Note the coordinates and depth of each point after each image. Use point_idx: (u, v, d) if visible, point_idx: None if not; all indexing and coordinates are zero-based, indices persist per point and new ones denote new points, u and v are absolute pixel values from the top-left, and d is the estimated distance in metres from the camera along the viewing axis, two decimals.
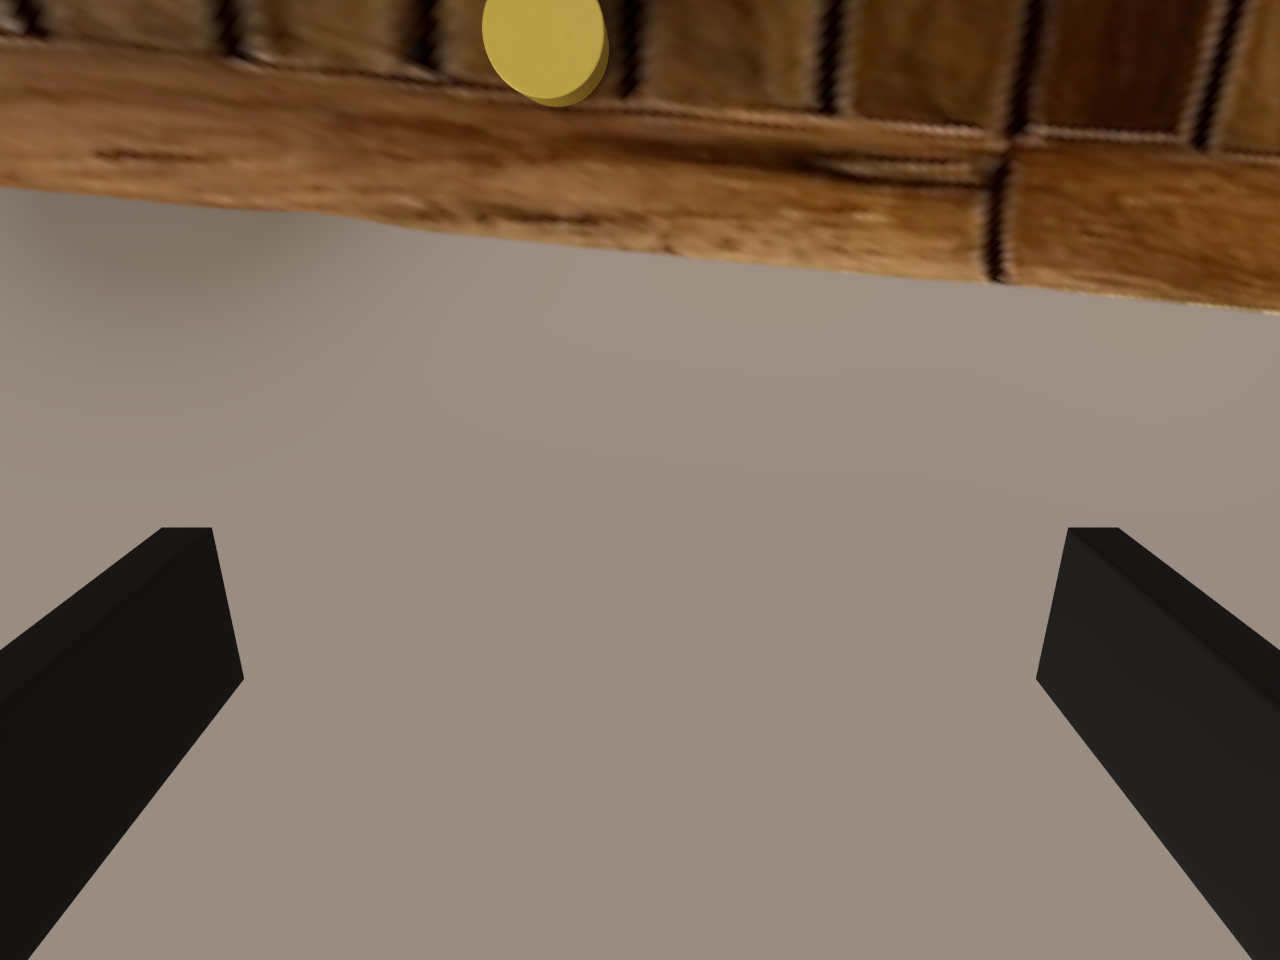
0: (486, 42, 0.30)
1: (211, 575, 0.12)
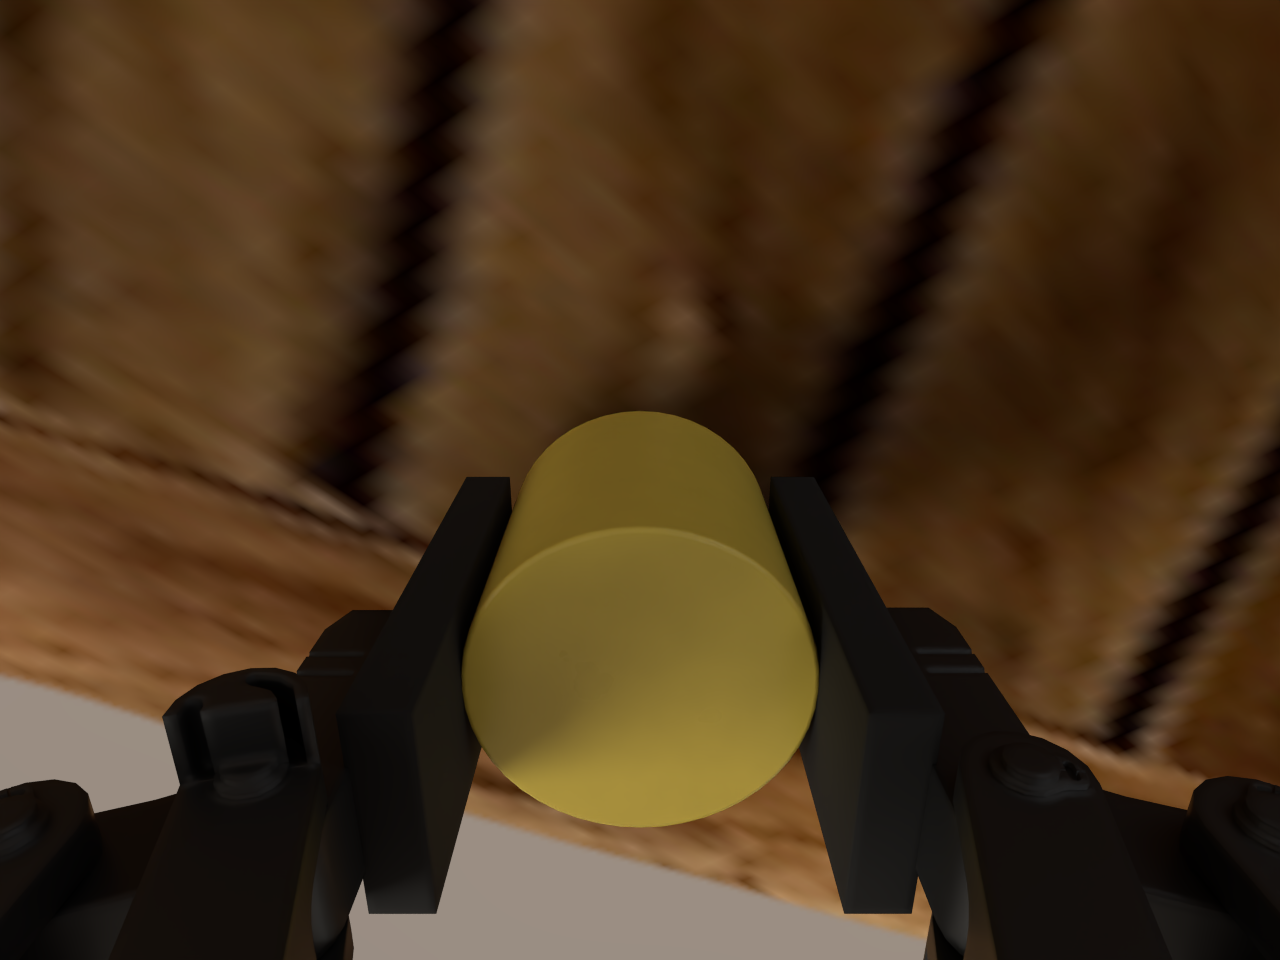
0: (467, 682, 0.10)
1: None
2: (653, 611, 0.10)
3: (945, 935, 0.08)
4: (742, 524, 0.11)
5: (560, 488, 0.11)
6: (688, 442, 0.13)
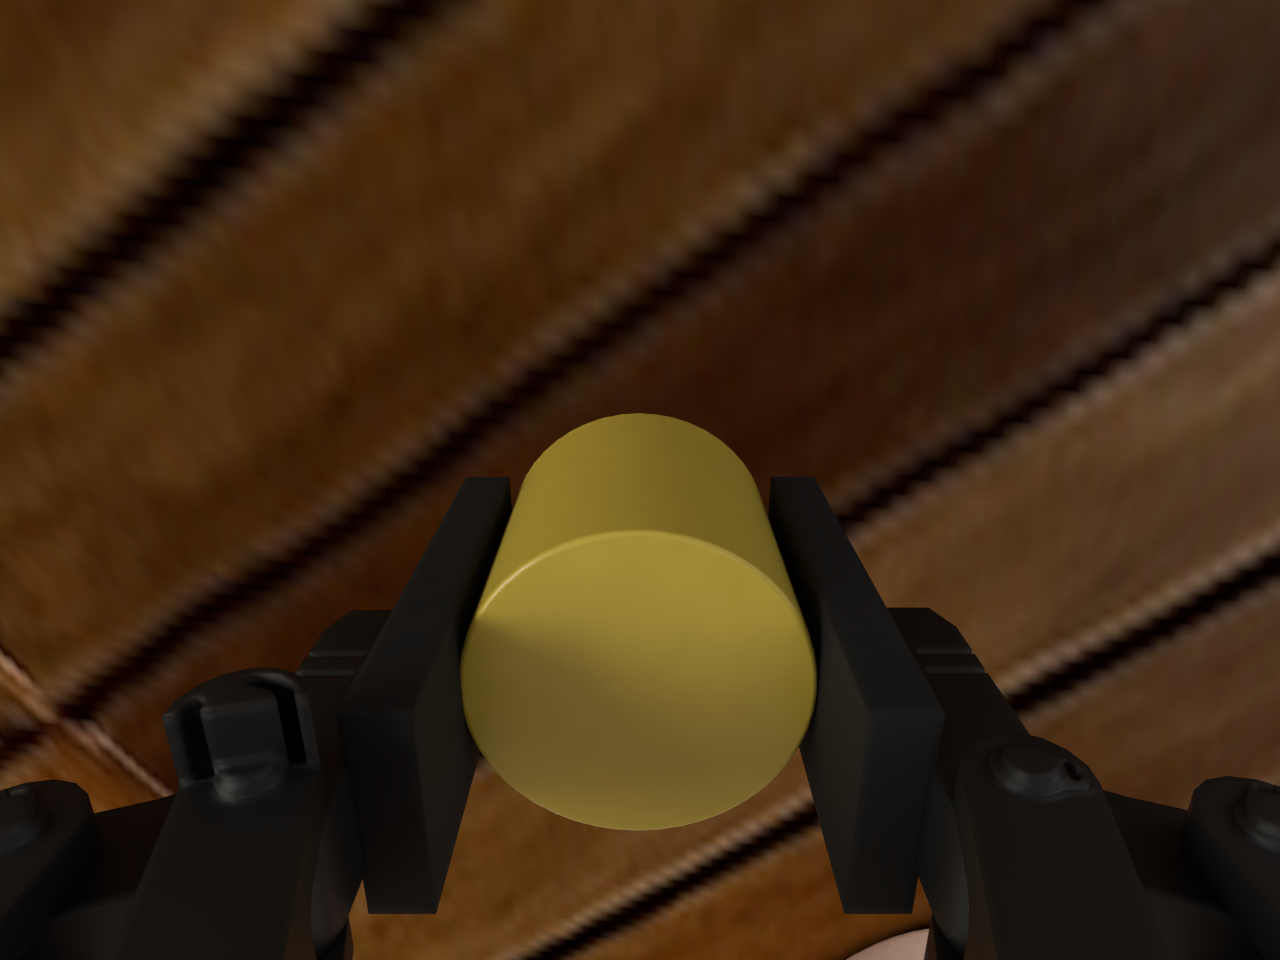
0: (465, 685, 0.10)
1: None
2: (651, 615, 0.10)
3: (946, 935, 0.08)
4: (741, 527, 0.11)
5: (558, 491, 0.11)
6: (686, 445, 0.13)
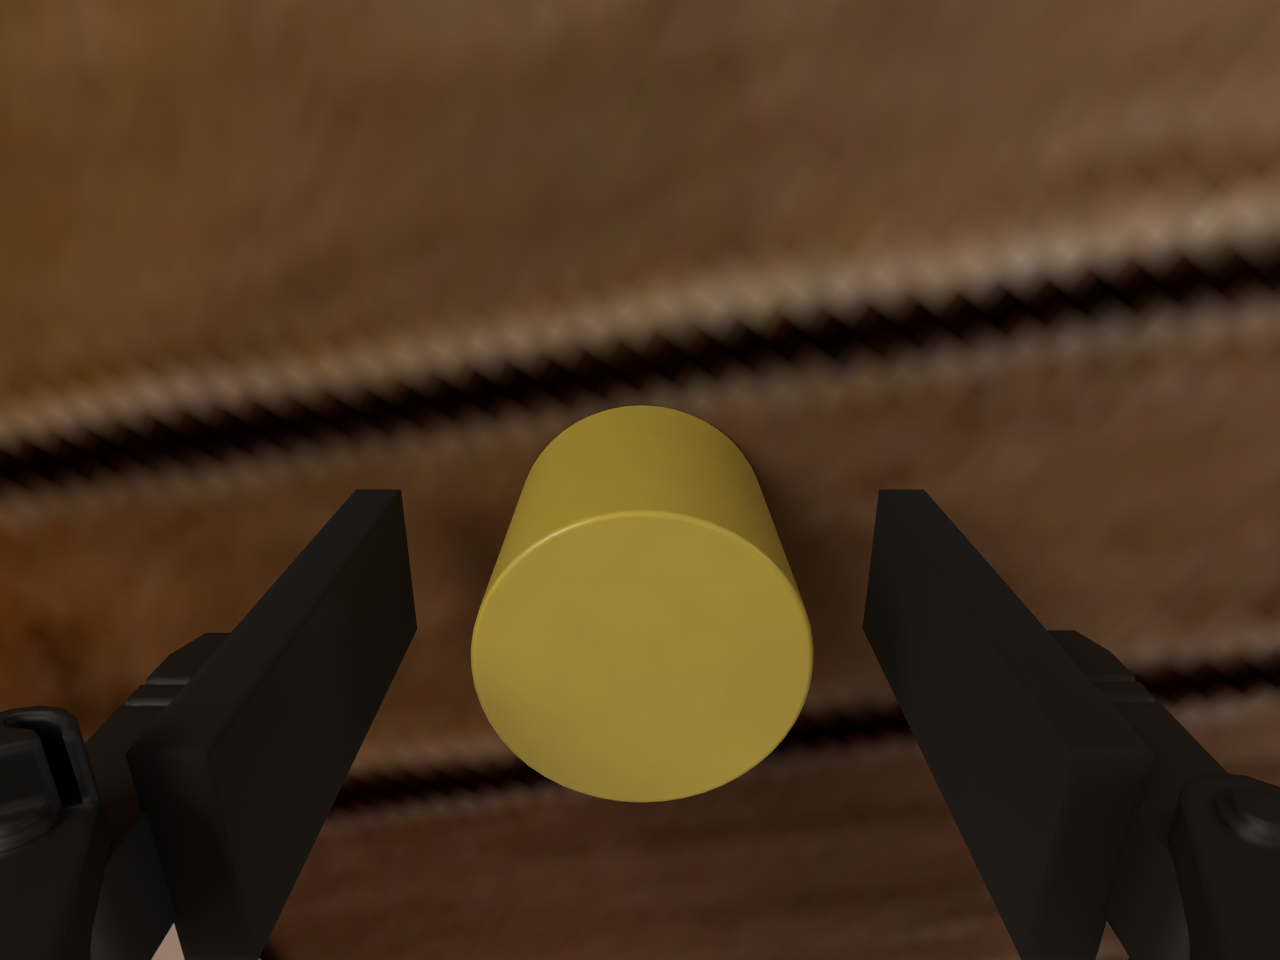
0: (477, 660, 0.11)
1: (400, 533, 0.13)
2: (655, 592, 0.10)
3: None
4: (740, 509, 0.11)
5: (566, 477, 0.12)
6: (688, 434, 0.13)
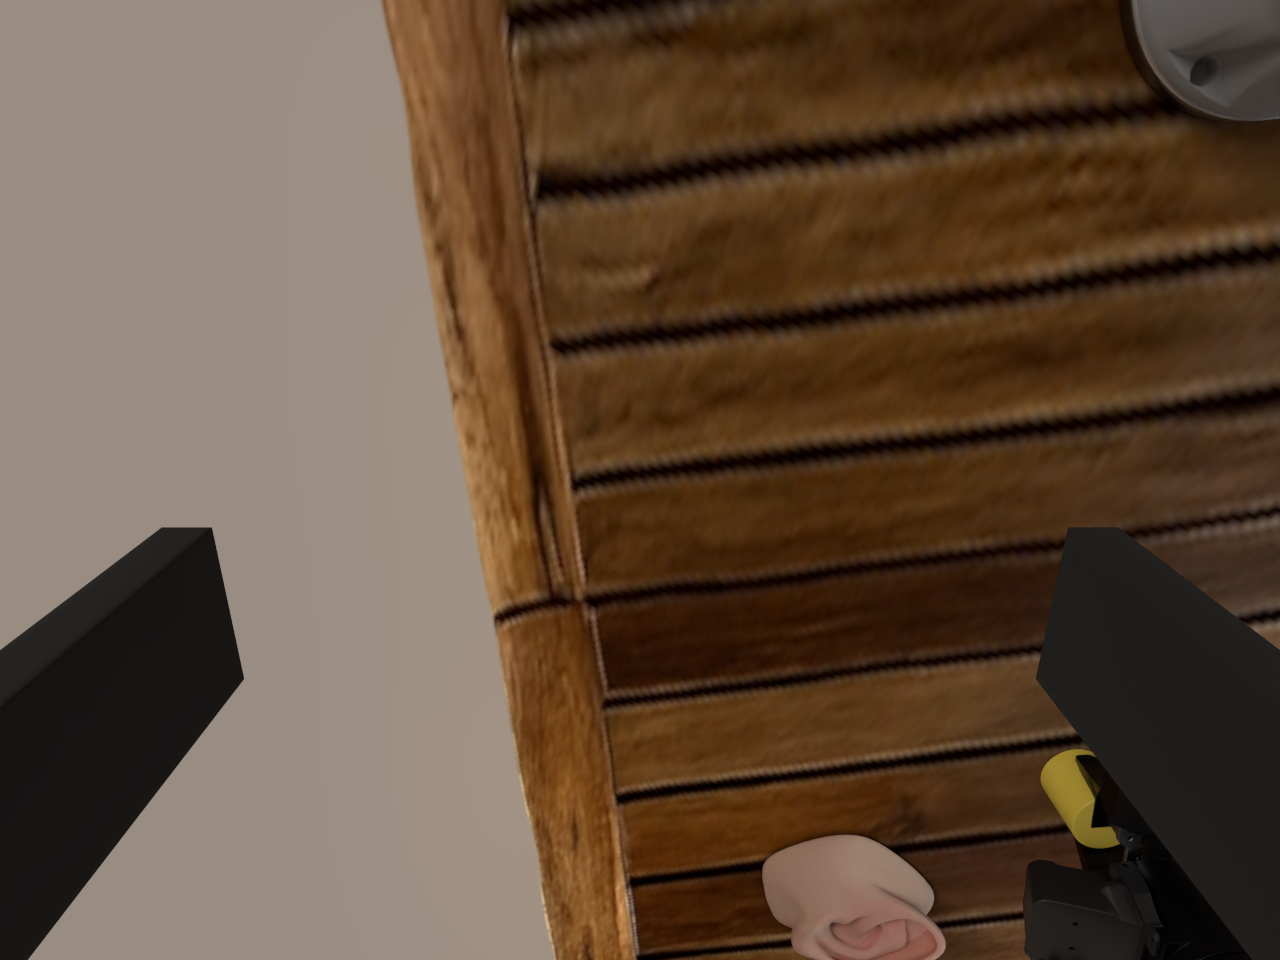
0: (1075, 821, 0.55)
1: (211, 576, 0.12)
2: None
3: None
4: None
5: (1081, 779, 0.56)
6: None
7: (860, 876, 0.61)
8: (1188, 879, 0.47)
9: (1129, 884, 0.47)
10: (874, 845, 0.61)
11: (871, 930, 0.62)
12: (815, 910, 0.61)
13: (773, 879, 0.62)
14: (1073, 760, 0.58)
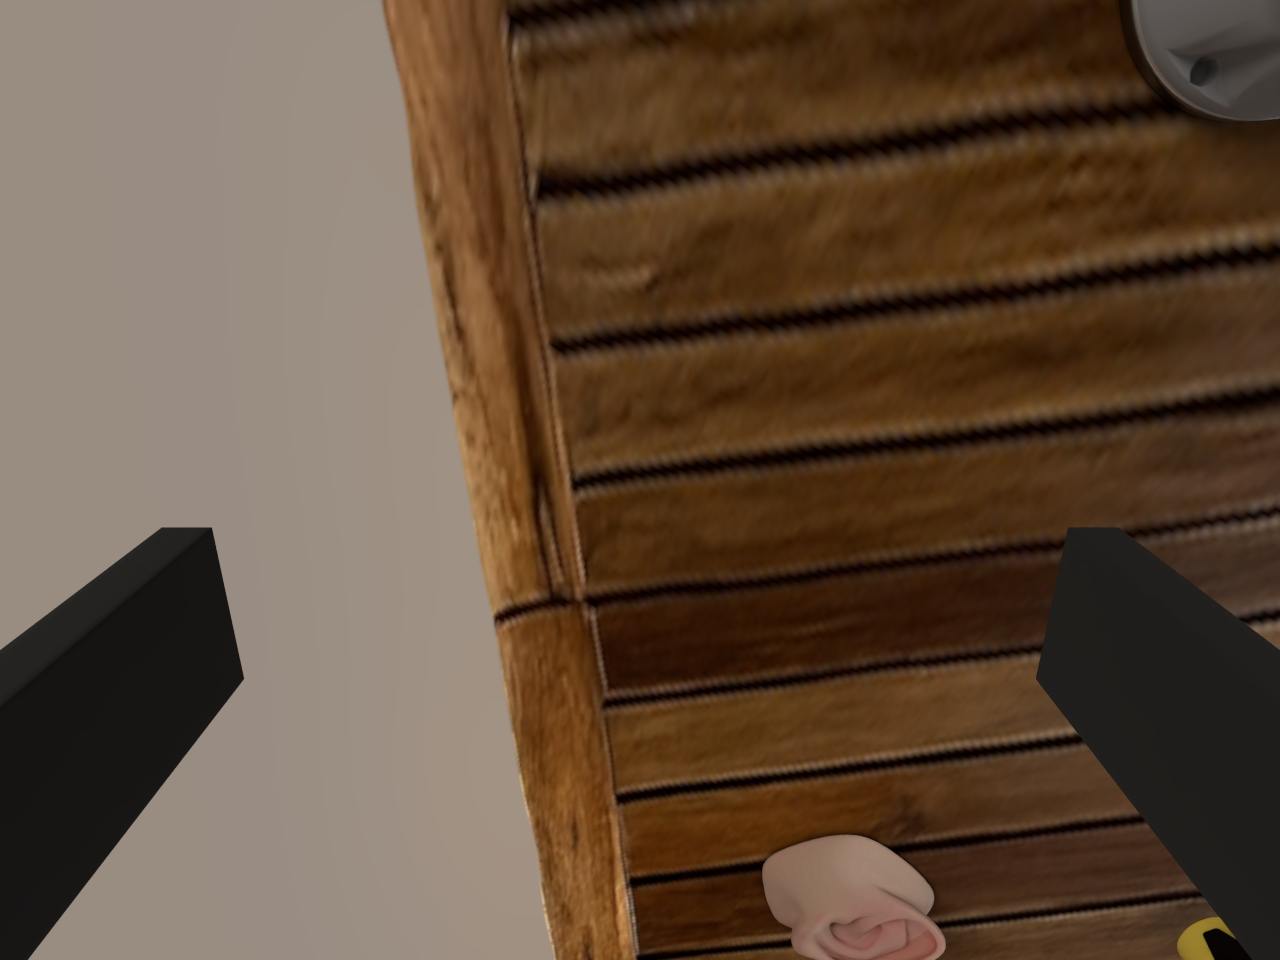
0: None
1: (211, 576, 0.12)
2: None
3: None
4: None
5: None
6: (1228, 933, 0.54)
7: (860, 876, 0.61)
8: None
9: None
10: (874, 845, 0.61)
11: (871, 930, 0.62)
12: (815, 910, 0.61)
13: (773, 879, 0.62)
14: (1202, 938, 0.54)
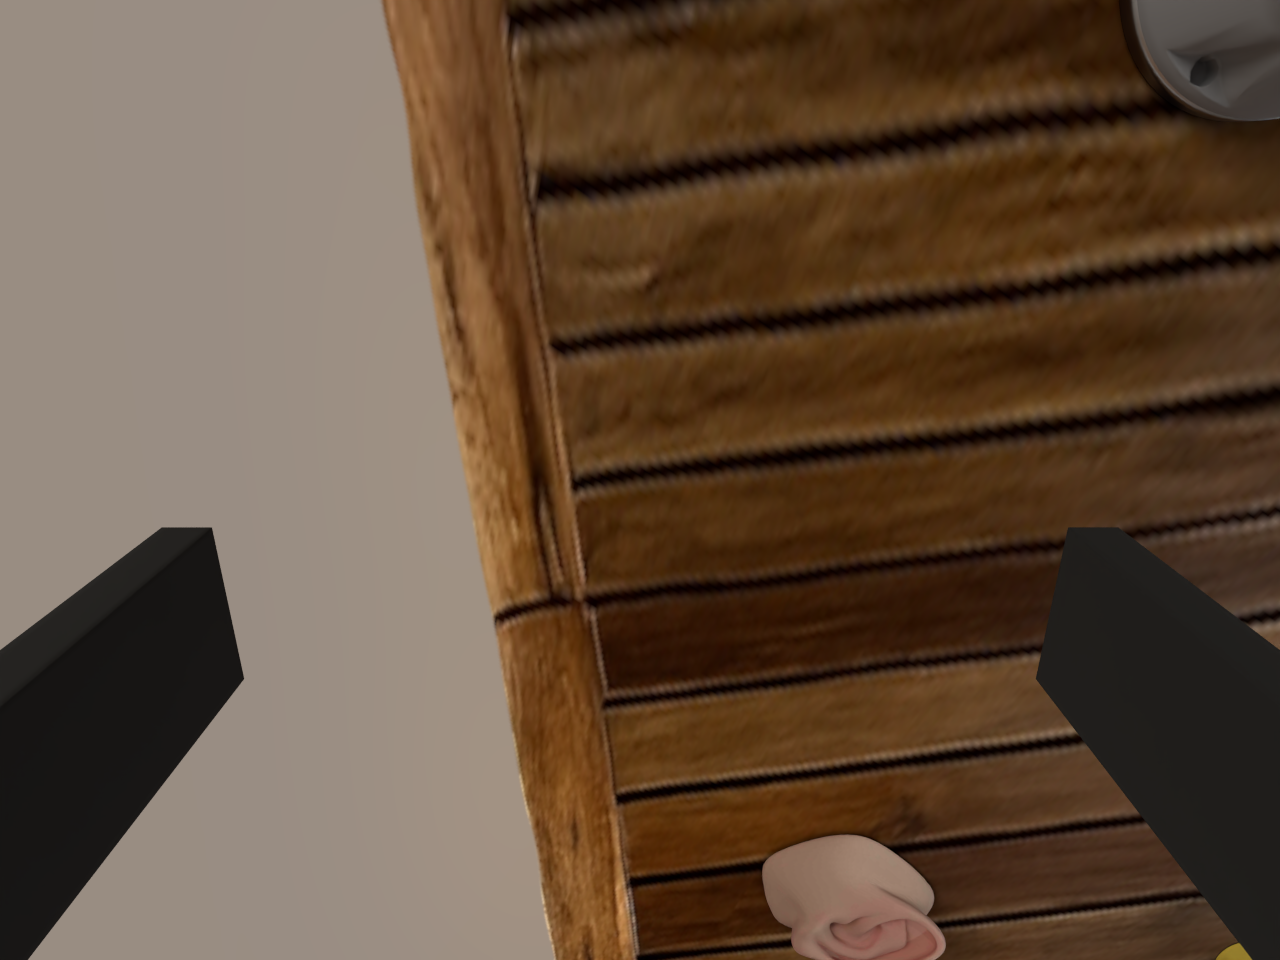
0: None
1: (211, 576, 0.12)
2: None
3: None
4: None
5: None
6: None
7: (860, 876, 0.61)
8: None
9: None
10: (874, 845, 0.61)
11: (871, 930, 0.62)
12: (815, 910, 0.61)
13: (773, 879, 0.62)
14: None
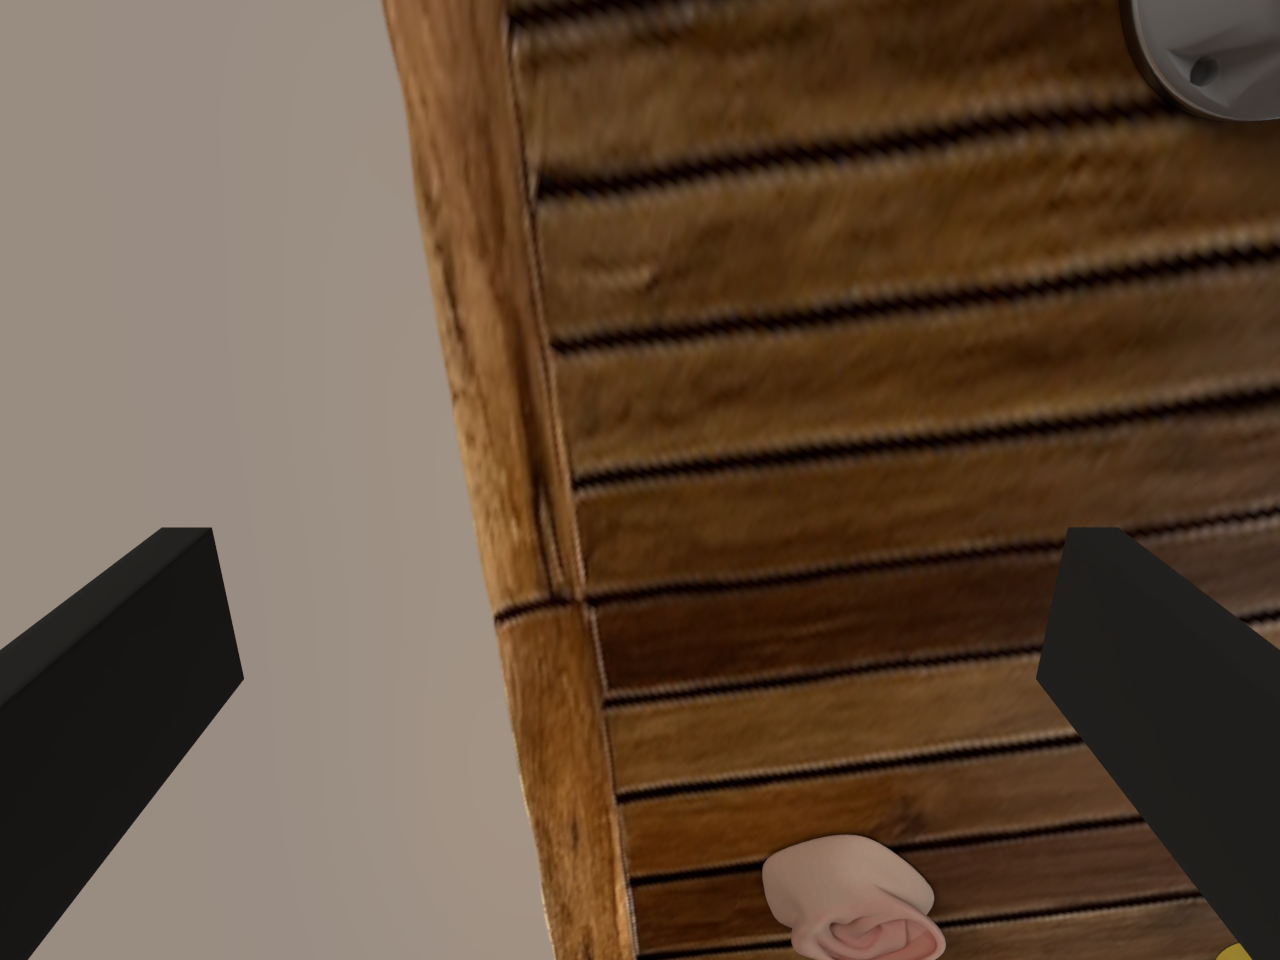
0: None
1: (211, 576, 0.12)
2: None
3: None
4: None
5: None
6: None
7: (860, 876, 0.61)
8: None
9: None
10: (874, 845, 0.61)
11: (871, 930, 0.62)
12: (815, 910, 0.61)
13: (773, 879, 0.62)
14: None
